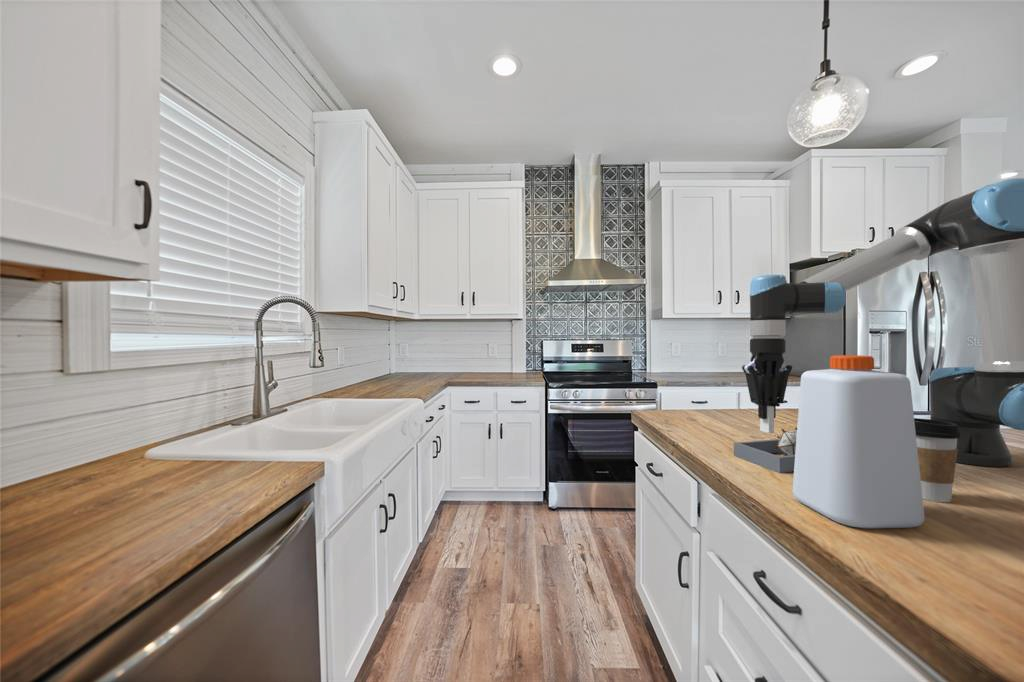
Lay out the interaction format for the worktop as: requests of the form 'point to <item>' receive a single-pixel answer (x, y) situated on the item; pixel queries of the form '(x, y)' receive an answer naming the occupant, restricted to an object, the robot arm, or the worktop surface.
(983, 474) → the worktop surface
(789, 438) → the game die
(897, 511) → the plastic bottle
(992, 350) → the robot arm
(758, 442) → the grey shallow tray
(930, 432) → the coffee cup
